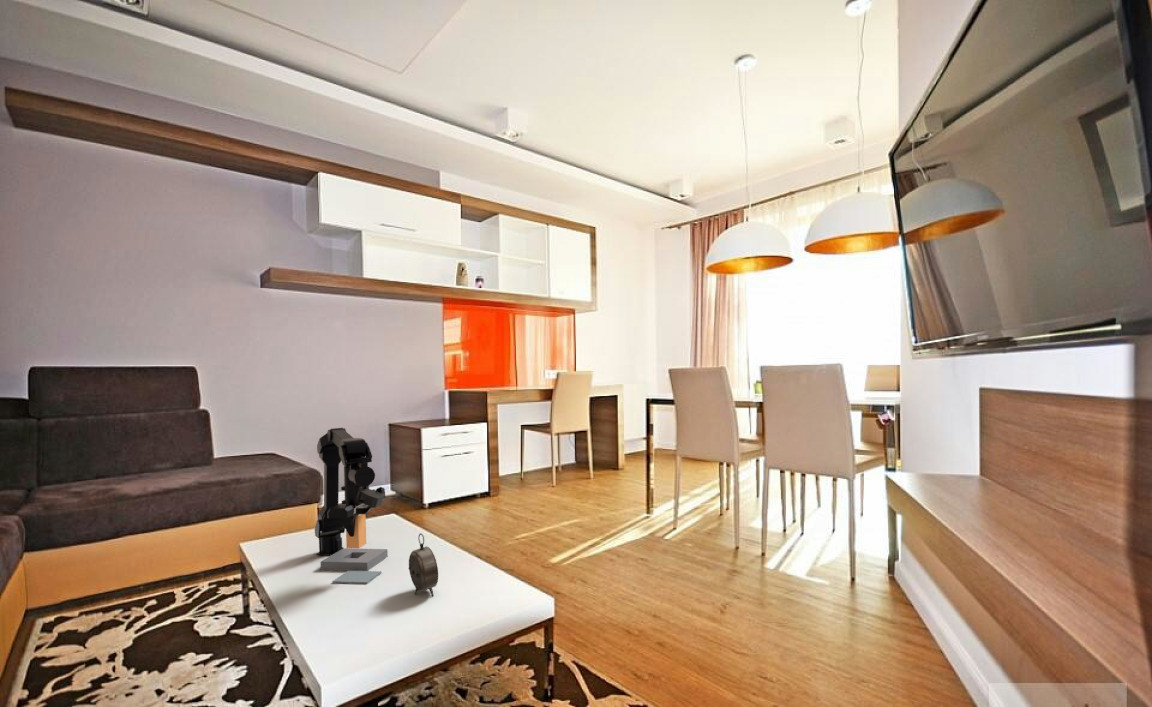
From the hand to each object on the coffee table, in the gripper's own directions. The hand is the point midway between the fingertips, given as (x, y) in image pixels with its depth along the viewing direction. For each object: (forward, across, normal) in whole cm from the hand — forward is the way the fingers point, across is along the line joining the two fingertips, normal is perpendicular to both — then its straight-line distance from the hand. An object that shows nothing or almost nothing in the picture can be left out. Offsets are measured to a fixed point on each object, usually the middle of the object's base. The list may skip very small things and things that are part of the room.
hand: (356, 534), depth 157 cm
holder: (+13, +12, +8) cm, 19 cm away
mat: (+13, 0, 0) cm, 13 cm away
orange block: (+4, 0, 0) cm, 4 cm away
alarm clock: (+13, -8, -25) cm, 30 cm away
